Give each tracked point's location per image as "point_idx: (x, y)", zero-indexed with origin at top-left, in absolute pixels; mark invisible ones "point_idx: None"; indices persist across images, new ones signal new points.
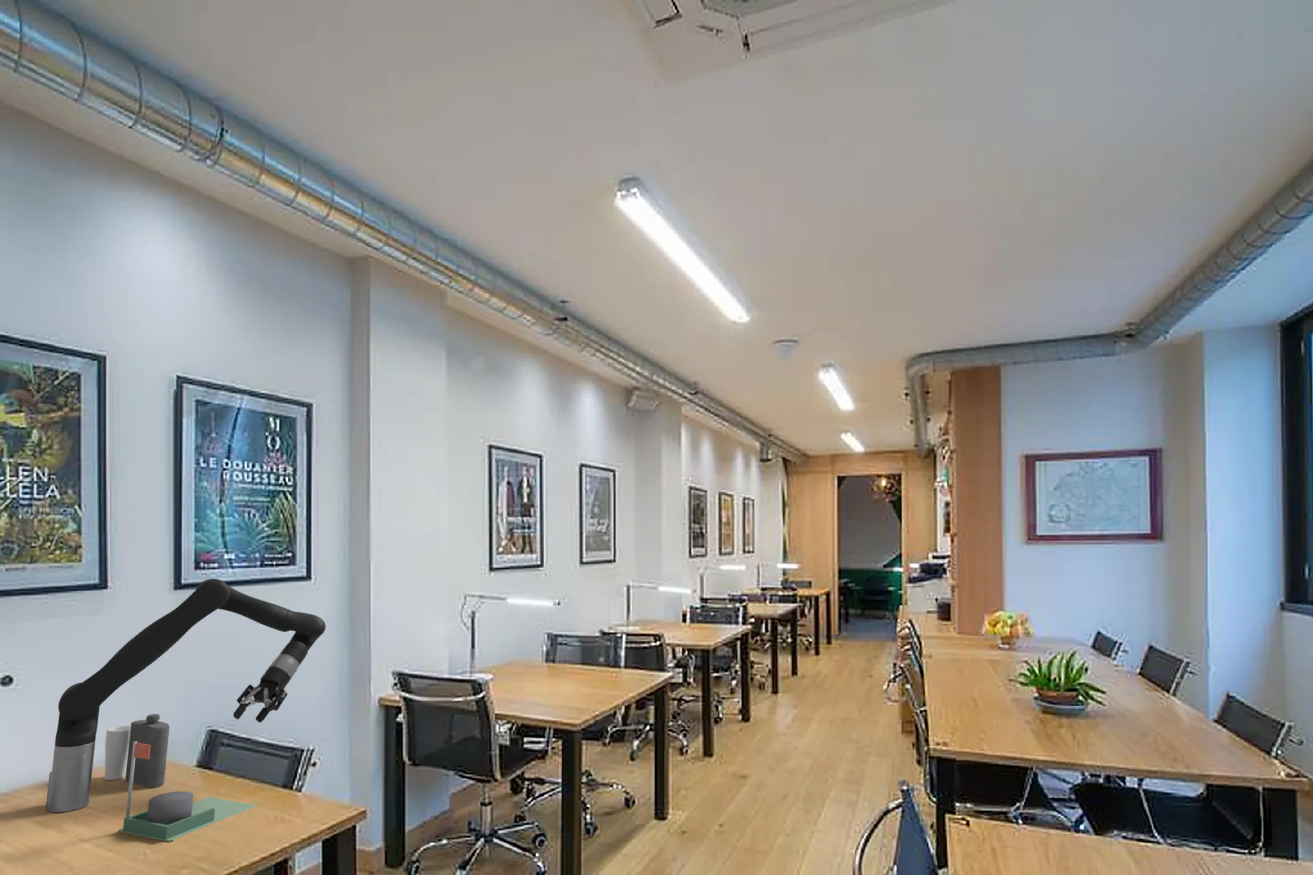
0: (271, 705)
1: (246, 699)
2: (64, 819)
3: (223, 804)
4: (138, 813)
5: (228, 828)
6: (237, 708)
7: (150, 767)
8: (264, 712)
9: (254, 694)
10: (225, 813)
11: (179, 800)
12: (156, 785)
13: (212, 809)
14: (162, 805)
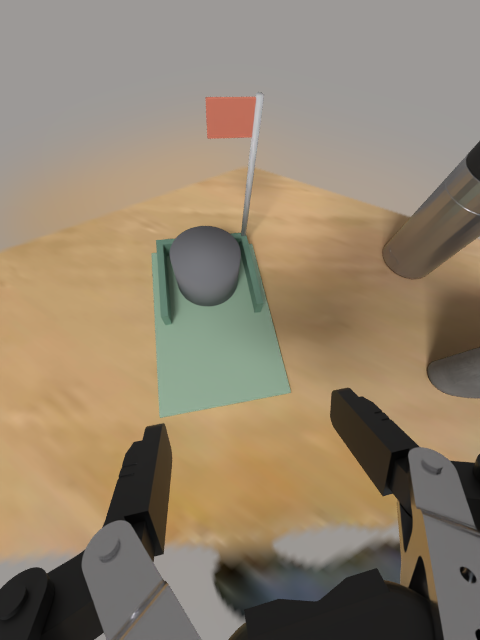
0: (29, 576)
1: (436, 506)
2: (353, 237)
3: (225, 381)
4: (249, 249)
5: (117, 322)
6: (395, 426)
7: (466, 351)
8: (117, 488)
9: (439, 622)
10: (176, 354)
11: (179, 251)
12: (429, 371)
13: (161, 312)
14: (186, 231)
